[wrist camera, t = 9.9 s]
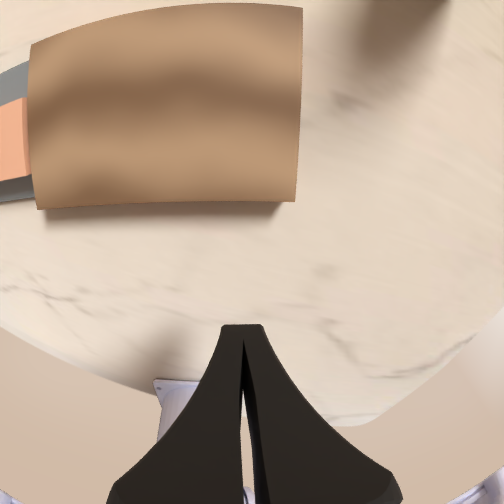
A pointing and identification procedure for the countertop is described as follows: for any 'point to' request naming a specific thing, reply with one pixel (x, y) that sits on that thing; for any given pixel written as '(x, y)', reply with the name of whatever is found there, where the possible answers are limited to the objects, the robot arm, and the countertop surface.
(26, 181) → the mat
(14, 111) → the tile
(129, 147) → the board
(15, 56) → the countertop surface
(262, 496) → the robot arm
